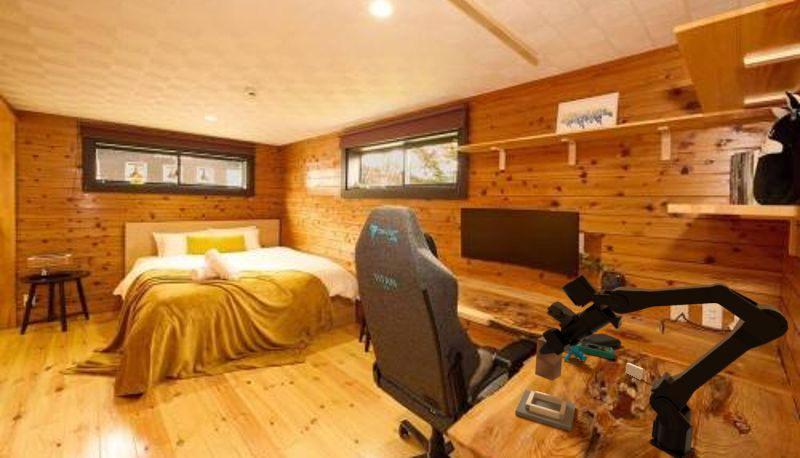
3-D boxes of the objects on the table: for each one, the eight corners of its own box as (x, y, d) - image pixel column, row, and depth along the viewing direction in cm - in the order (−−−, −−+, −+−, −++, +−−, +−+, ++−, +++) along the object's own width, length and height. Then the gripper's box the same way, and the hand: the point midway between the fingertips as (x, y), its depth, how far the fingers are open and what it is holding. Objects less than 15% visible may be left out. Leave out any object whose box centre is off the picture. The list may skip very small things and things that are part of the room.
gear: (594, 361, 129) (575, 341, 128) (583, 374, 128) (564, 354, 127) (573, 353, 140) (556, 334, 139) (563, 365, 139) (545, 346, 138)
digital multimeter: (613, 361, 136) (614, 353, 136) (568, 351, 144) (569, 343, 144) (614, 354, 143) (614, 347, 143) (571, 345, 150) (571, 338, 150)
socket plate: (575, 407, 101) (576, 398, 101) (570, 431, 90) (571, 421, 90) (525, 393, 108) (525, 384, 108) (515, 414, 96) (515, 404, 96)
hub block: (560, 375, 105) (563, 340, 104) (552, 380, 101) (555, 344, 101) (543, 369, 108) (545, 335, 108) (535, 374, 105) (537, 339, 104)
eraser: (627, 373, 126) (628, 362, 125) (642, 379, 121) (643, 368, 121) (625, 373, 125) (626, 363, 125) (639, 380, 121) (641, 369, 120)
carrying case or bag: (599, 337, 161) (574, 340, 155) (600, 330, 161) (575, 333, 155) (623, 347, 151) (597, 350, 146) (624, 339, 151) (597, 343, 145)
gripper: (582, 290, 107) (541, 319, 116) (552, 299, 94) (510, 331, 103) (610, 325, 102) (566, 352, 110) (583, 339, 89) (535, 369, 97)
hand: (544, 350), depth 105 cm, fingers closed on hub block, 5 cm apart
